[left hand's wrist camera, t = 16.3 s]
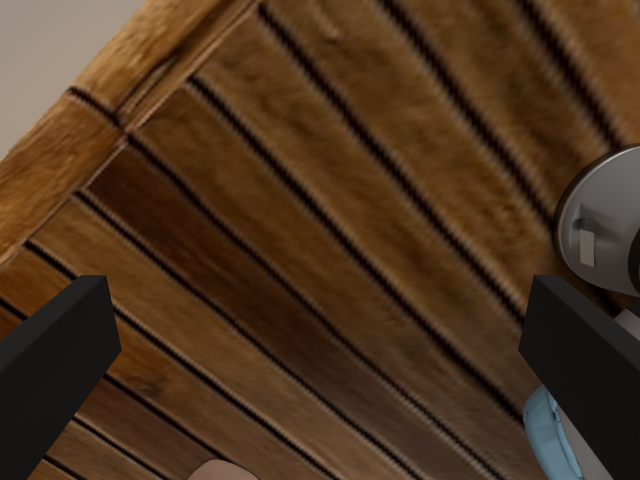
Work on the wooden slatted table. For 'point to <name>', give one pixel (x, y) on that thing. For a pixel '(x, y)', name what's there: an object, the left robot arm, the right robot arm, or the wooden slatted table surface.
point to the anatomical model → (221, 472)
